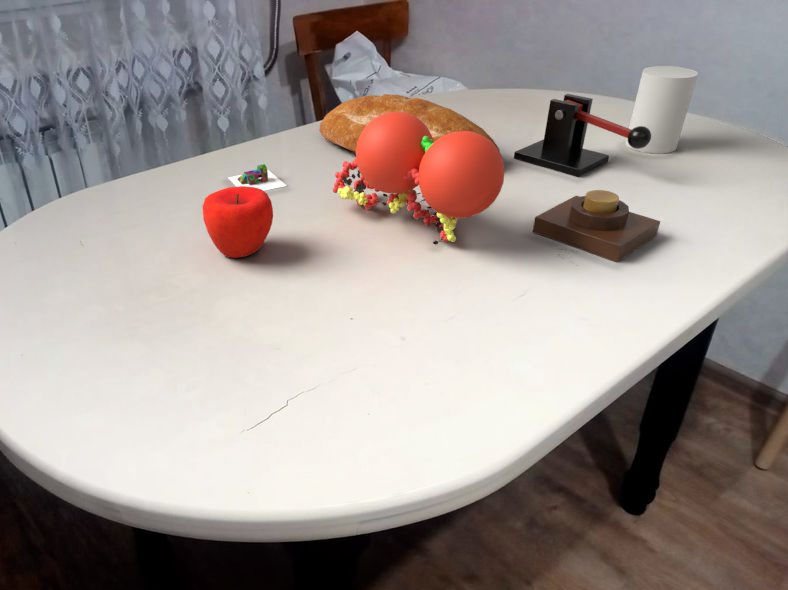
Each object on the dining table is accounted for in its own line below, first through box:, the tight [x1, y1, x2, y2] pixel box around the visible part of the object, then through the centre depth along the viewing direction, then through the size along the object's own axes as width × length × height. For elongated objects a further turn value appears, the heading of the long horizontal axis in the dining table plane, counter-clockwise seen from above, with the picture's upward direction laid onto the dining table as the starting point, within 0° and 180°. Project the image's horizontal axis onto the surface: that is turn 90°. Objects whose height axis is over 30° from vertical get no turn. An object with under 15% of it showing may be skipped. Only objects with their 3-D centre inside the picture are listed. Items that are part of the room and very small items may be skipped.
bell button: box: [583, 189, 620, 214], centre depth 84 cm, size 4×4×2 cm
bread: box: [318, 93, 501, 154], centre depth 112 cm, size 18×35×9 cm, turn 51°
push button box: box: [532, 195, 661, 263], centre depth 85 cm, size 12×10×4 cm
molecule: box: [332, 112, 506, 246], centre depth 86 cm, size 25×11×15 cm, turn 48°
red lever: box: [565, 100, 651, 149], centre depth 101 cm, size 15×3×3 cm, turn 42°
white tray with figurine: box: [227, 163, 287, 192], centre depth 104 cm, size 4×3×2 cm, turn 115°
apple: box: [202, 186, 274, 259], centre depth 83 cm, size 9×9×8 cm
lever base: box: [513, 93, 610, 178], centre depth 106 cm, size 12×9×10 cm
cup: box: [625, 65, 699, 154], centre depth 110 cm, size 8×8×12 cm
